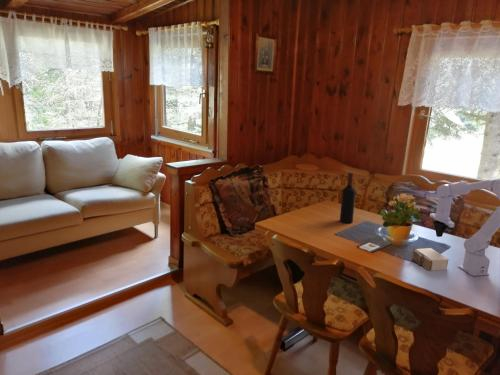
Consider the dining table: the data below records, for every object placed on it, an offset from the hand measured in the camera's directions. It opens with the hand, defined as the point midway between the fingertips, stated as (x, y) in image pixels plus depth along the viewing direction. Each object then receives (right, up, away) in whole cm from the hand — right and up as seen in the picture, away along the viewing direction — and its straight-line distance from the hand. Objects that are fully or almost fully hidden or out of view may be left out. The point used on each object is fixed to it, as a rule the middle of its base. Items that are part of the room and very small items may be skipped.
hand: (439, 236), depth 176 cm
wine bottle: (-32, +3, +47) cm, 57 cm away
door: (-13, -11, -5) cm, 18 cm away
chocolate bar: (-27, -7, +13) cm, 30 cm away
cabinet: (-8, -12, -7) cm, 16 cm away
